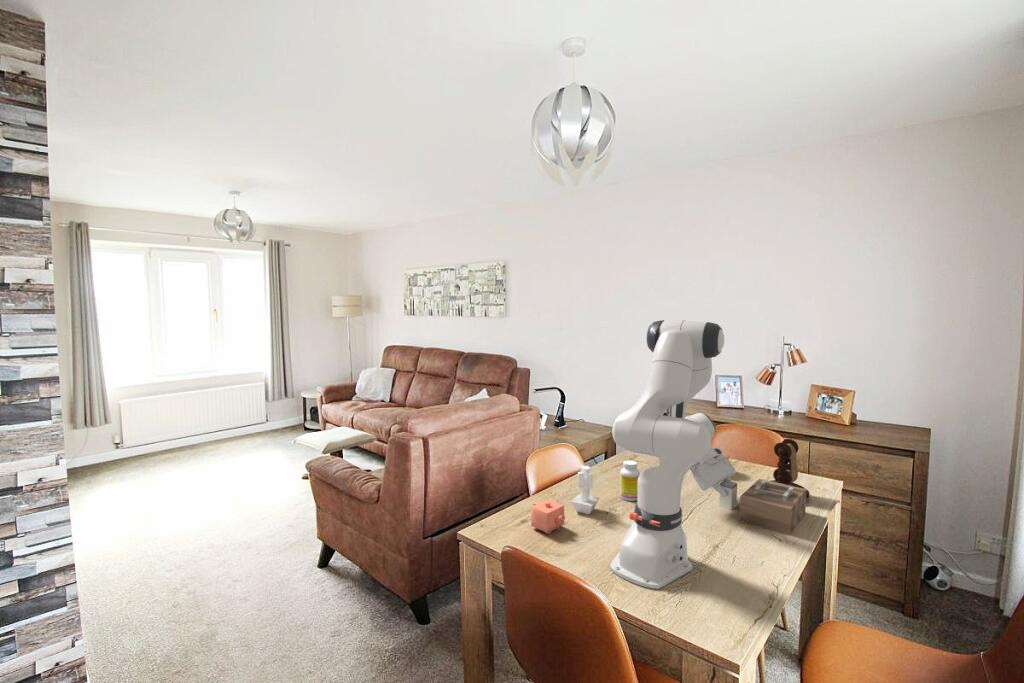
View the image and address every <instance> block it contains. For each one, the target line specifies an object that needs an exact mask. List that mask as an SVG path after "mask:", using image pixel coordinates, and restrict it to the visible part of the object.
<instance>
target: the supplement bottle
mask: <svg viewBox="0 0 1024 683" xmlns="http://www.w3.org/2000/svg"><path fill="white" fill-rule="evenodd" d="M622 463H623V464H622V465H623V468H621V470H620V483H619V486H620V490H619V492H620V494H619V495H620V498H621V499H622V500H624V501H629V502H635V501H637V483H638V477H639V475H640V474H641V472H640V470H639V469H638V462H637V461H635V460H624V461H623V462H622Z"/></svg>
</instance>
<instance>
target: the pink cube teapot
mask: <svg viewBox="0 0 1024 683" xmlns="http://www.w3.org/2000/svg"><path fill="white" fill-rule="evenodd" d="M530 519H531V521H530V522H531V527H534V528H535V529H536V530H540V531H542V532H544V533H546V535H547V534H548V535H550V534H552V532H553V531H554V530H560V527H562V526H564V525H565V520H566V516H565V505H564V504H561V503H558V502H556V501H553V500H550V499H546V500H543V501H541V502H534V503H533V505H531V507H530Z"/></svg>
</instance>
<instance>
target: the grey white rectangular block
mask: <svg viewBox="0 0 1024 683" xmlns="http://www.w3.org/2000/svg"><path fill="white" fill-rule="evenodd" d="M719 484H720V485H721V487H722V488H723V489H724V490H727V492H728V493H729V495H727V496H726V497H723V496H722V495H721V494H720V493H719V501H718V502H719V503H718V504H719V505H718V506H719V507H722V508H725V509H729V510H734V508H736V507H737V506H738V505H737V504H738V503H737V502H738V499H737V498H738V482H734V481H732V482H731V481H728V480H724V481H722V482H720V483H719Z"/></svg>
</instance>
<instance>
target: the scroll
mask: <svg viewBox="0 0 1024 683" xmlns="http://www.w3.org/2000/svg"><path fill="white" fill-rule="evenodd" d="M773 447H774V448H773V452H774V454H775V455H776V456H777V457H778V462H777V464H776V465H777V467H778V468H776V469H774V471H773V478H774V479H773V480H770V481H772V482H776V483H781V484H785V485H790V486H794V487H799V488H803V489H806V500H808V499H809V498H810V491H809V490H808V489H807V488H805V487H804V486H802V485H800V484H797V483H794V482H795V481H797V480H798V476H799V471H798V470H799V469H798V463H797V462H798V461H797V453H798V452H799V448H800V447H799V445H798V443H797V442H796V440H793V439H792V438H786V439H783V440H782V441H781V442H777V443H776V444H775V445H774V446H773Z"/></svg>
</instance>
